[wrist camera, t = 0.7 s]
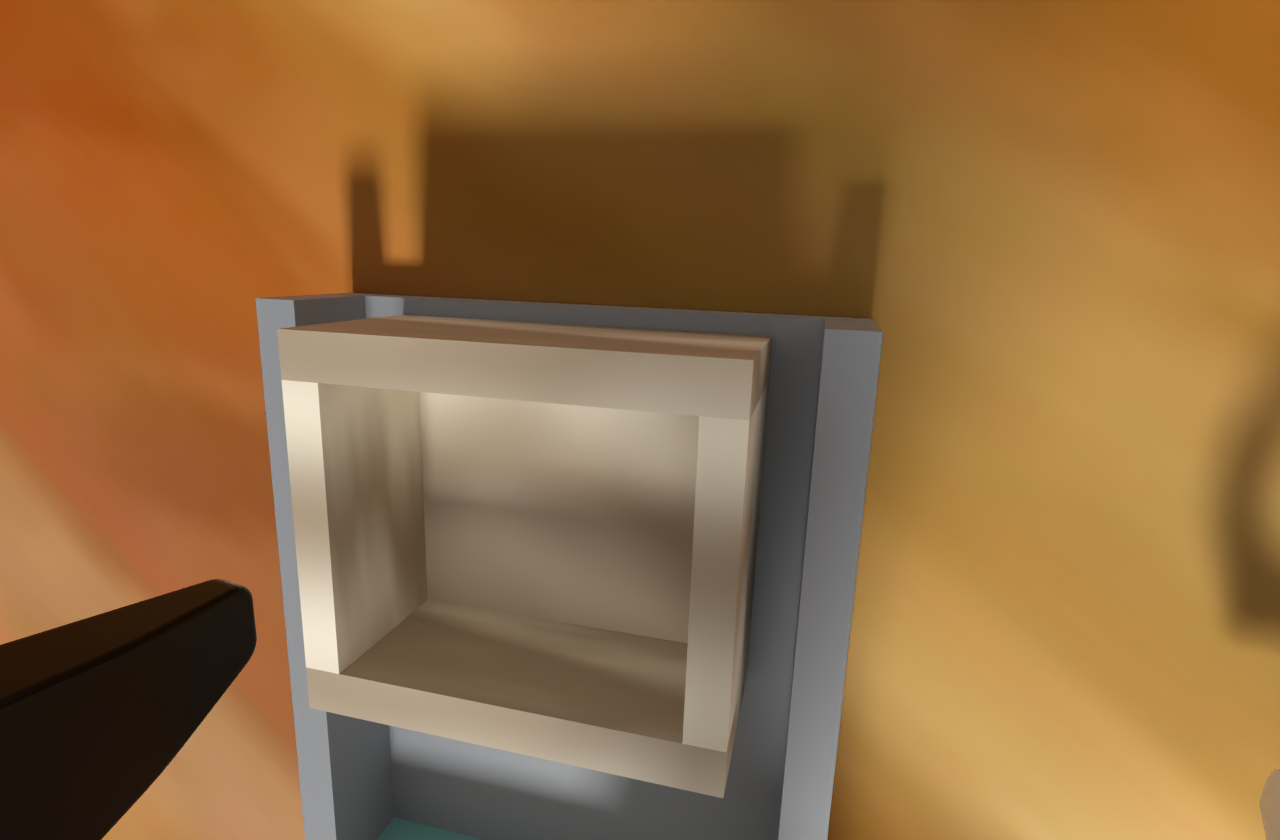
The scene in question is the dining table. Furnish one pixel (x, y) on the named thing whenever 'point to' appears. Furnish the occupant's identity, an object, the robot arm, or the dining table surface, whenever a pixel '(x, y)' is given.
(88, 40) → the dining table surface
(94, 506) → the dining table surface
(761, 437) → the crate
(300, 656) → the bay
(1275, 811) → the mug
